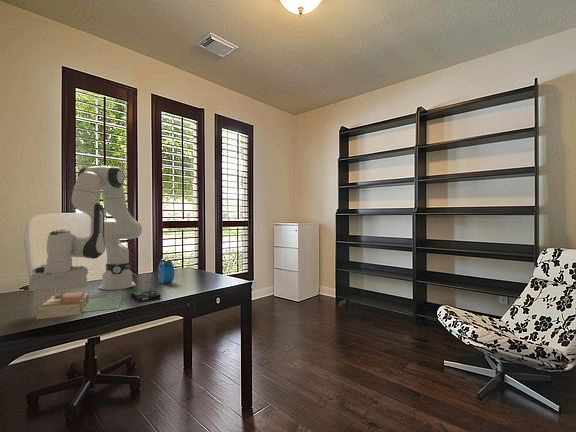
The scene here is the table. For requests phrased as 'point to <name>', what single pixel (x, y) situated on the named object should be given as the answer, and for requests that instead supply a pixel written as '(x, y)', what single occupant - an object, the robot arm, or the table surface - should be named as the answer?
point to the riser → (61, 308)
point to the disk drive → (145, 295)
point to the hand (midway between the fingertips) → (58, 298)
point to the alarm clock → (165, 271)
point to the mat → (102, 304)
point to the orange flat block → (72, 297)
